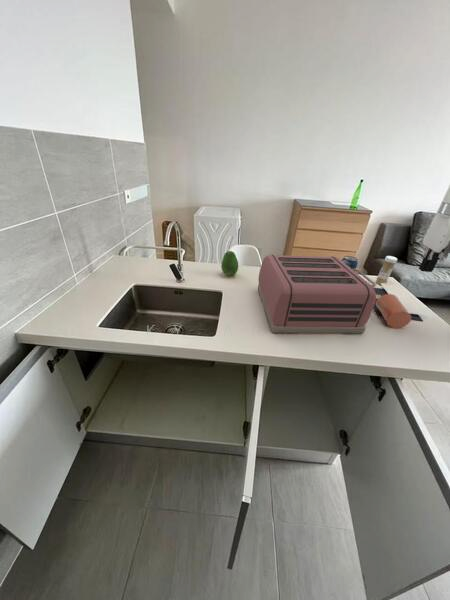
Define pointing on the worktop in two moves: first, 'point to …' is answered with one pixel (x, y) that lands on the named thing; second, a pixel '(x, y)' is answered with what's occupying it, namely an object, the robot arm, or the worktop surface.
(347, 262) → the soda can
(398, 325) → the tumbler
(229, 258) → the fruit
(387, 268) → the sprinkles bottle
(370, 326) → the worktop surface
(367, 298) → the toaster
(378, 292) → the mat
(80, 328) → the worktop surface
